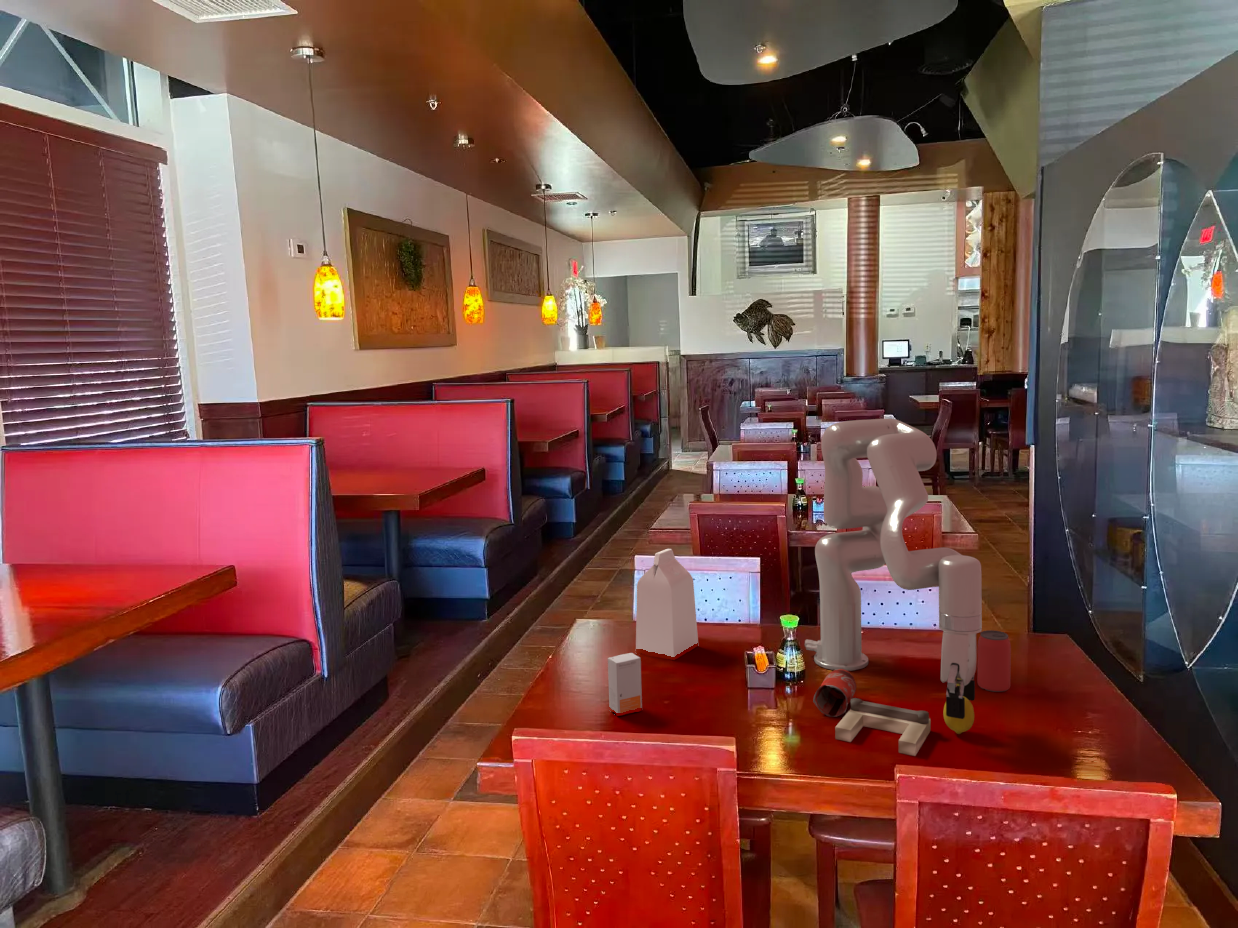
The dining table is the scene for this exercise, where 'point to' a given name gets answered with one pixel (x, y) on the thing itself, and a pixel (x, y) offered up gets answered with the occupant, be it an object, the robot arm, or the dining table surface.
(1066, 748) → the dining table surface
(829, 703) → the beverage can
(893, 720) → the beige u-shaped frame
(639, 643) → the milk
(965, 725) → the lemon
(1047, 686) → the dining table surface
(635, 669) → the skincare box
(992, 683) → the beer can
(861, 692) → the dining table surface
